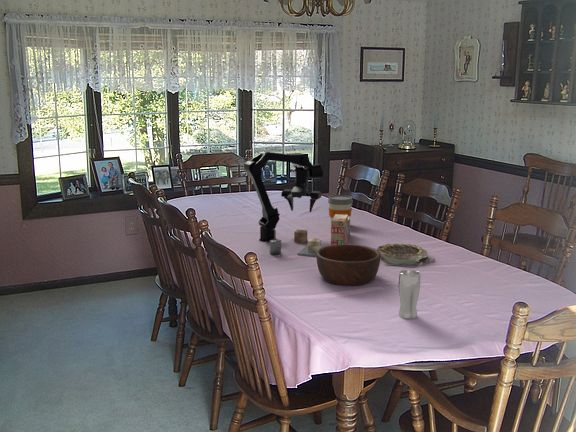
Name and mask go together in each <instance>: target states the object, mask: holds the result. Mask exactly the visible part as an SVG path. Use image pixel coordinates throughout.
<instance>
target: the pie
mask: <svg viewBox="0 0 576 432" xmlns="http://www.w3.org/2000/svg"><path fill="white" fill-rule="evenodd" d="M376 250H377V251H379V252H380V254H381V260H383V261H384V262H385V263H386V264H392V265H395V266H396V267H398V265H401V266H402V265H403V267H405V268H406V266H404V265H416V266H422V265H424V263H423V262H422V261H424V262H426V263H428V262H429V263H431V262H434V261H436V260H435V257H433V259H430V258H429V257H428V251H427V250H426V249H424V248H423V247H421V246H419V245H416V244H410V243H408V244H406V243H389V244H388V243H387V244H383V245H380V246H378V247H377V249H376ZM419 260H422V261H419Z"/></svg>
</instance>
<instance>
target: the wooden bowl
mask: <svg viewBox="0 0 576 432" xmlns="http://www.w3.org/2000/svg"><path fill="white" fill-rule="evenodd" d="M321 247H322V246H321ZM381 257H382V256H381V254H380V252H379V251H378V250H377V249H376V248H373V247H370V246H367V245H360V244H352V243H349V244H348V243H346V244H338V245H331V244H329V245H326V246H324V247H322V248H320V249H319V250H318V251H317V252H316V257H315V258H316V264H317V269H318V270H317V271H318V272H319V274H320V276H321V277H322V279H323V280H324V281H326V282H327V283H330V284H334V285H337V286H338V285H339V286H350V287H351V286H352V287H353V286H361V285H362V286H363V285H366V284H369V283H370V282H372V281H373V280H374V279H375V278H376V275H377V274H378V272H379V268H380V264H381V260H382V258H381Z"/></svg>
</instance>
